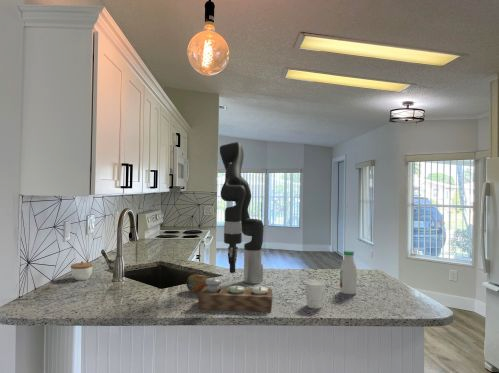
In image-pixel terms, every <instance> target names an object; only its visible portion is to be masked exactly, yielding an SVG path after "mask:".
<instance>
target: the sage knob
mask: <svg viewBox="0 0 499 373" xmlns="http://www.w3.org/2000/svg"><path fill="white" fill-rule="evenodd" d="M228 287H229V292H230V293H234V294H242V293H243V292H244V288H245V287H244V286H242V285H231V286H228Z"/></svg>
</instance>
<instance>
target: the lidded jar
mask: <svg viewBox="0 0 499 373" xmlns="http://www.w3.org/2000/svg"><path fill="white" fill-rule="evenodd" d="M93 265H94V264H93V263H92V262H84V261H82V260H81V261H80V262H76V263H72V264H70V273H71V275H72V276H71V277H72V278H74V280H76V281H86V280H88V279H89V278H90V277H91V275H92V273H93V268H94V267H93Z"/></svg>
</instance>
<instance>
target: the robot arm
mask: <svg viewBox="0 0 499 373" xmlns="http://www.w3.org/2000/svg"><path fill="white" fill-rule="evenodd" d="M219 154H220V158H221V162H222V164H223V166H224V169H225V174H224V175H225V177H224V180H225V181H224V183H223V185H222V187H221V188H220V198H221V199H222V201H225V202H234V203H235V205H233V206H228V207H226V208H225V209H224V226H223V242H224V244H226V245H228V247H227V259H228V264H229V273H230V274H235V273H236V264H237V257H238V249H239V247H238V246H237V245H238V244H239V245H240V244H241V243H242V241H243V239H242V237H243V235H244V236H247V237H251V240H250V241H248V242H245V243H244V245H243V282H244V283H246V284H251V285H255V284H261V282H263V280H264V279H263V278H264V275H263V274H264V273H263V272H264V267H263V266H264V263H262V250H263V248H262V247H263V241H264V223H263V221H262V219H259V218H258V219H257V218H251V217H250V214H249V206H250V203H251V200H252V191H251V188H250V184H249V183H248V181H247V180H246V179H245V178H244V177H243V176H242V169H243V168H242V167H243V163H244V156H245V155H244V148H243V146H242V144H241V142H239V141H235V142H231V143H226V144H222V145H221V146H220V147H219ZM242 234H243V235H242Z"/></svg>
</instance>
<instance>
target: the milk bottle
mask: <svg viewBox="0 0 499 373" xmlns="http://www.w3.org/2000/svg"><path fill="white" fill-rule="evenodd" d="M354 254H355V253H354V251H353V250H349V249H348V250H343V260H342V262H341V264H340V270H339V271H340V272H339V292H340V293H341V294H344V295H350V296H351V295H352V296H353V295H356V294H357V289H358V286H357V285H358V284H357V283H358V282H357V281H358V279H357V277H358V275H357V274H358V272H357V270H358V268H357V265H356V263H355V260H354Z"/></svg>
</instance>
